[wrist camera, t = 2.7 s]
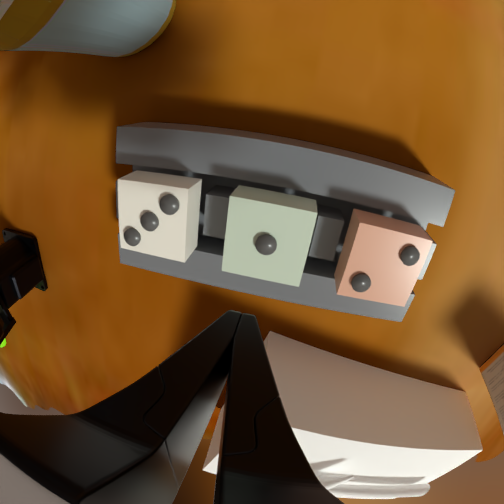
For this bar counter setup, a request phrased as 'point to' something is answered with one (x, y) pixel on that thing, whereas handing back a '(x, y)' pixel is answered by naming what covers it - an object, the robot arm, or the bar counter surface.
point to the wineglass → (3, 343)
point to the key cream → (159, 214)
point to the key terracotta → (381, 258)
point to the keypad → (284, 181)
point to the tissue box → (366, 423)
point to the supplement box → (495, 381)
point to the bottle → (83, 25)
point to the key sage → (268, 234)
